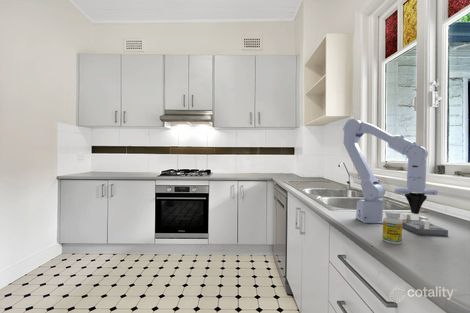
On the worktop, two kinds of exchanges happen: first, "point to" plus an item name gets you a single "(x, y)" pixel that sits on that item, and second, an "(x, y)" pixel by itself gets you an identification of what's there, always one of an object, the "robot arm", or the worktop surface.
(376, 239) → the worktop surface
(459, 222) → the worktop surface
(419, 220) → the white slider knob
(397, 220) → the supplement bottle
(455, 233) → the worktop surface
